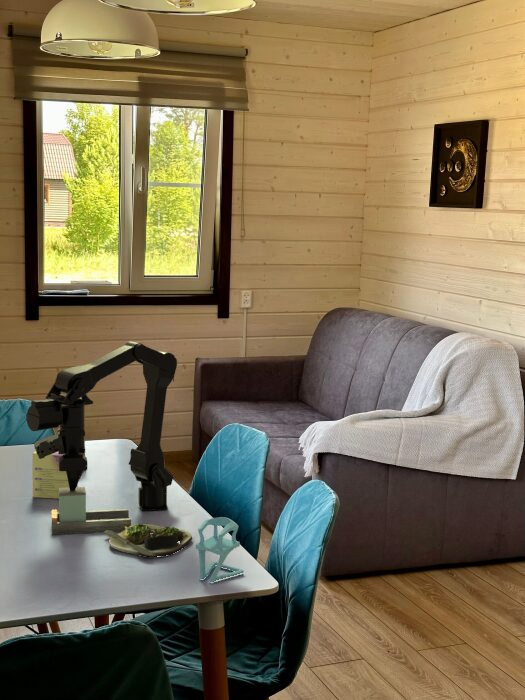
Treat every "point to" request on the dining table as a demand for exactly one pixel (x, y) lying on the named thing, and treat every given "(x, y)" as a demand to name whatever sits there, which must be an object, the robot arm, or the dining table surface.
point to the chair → (217, 547)
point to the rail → (93, 522)
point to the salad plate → (149, 540)
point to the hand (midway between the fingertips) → (72, 490)
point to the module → (72, 504)
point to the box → (48, 476)
